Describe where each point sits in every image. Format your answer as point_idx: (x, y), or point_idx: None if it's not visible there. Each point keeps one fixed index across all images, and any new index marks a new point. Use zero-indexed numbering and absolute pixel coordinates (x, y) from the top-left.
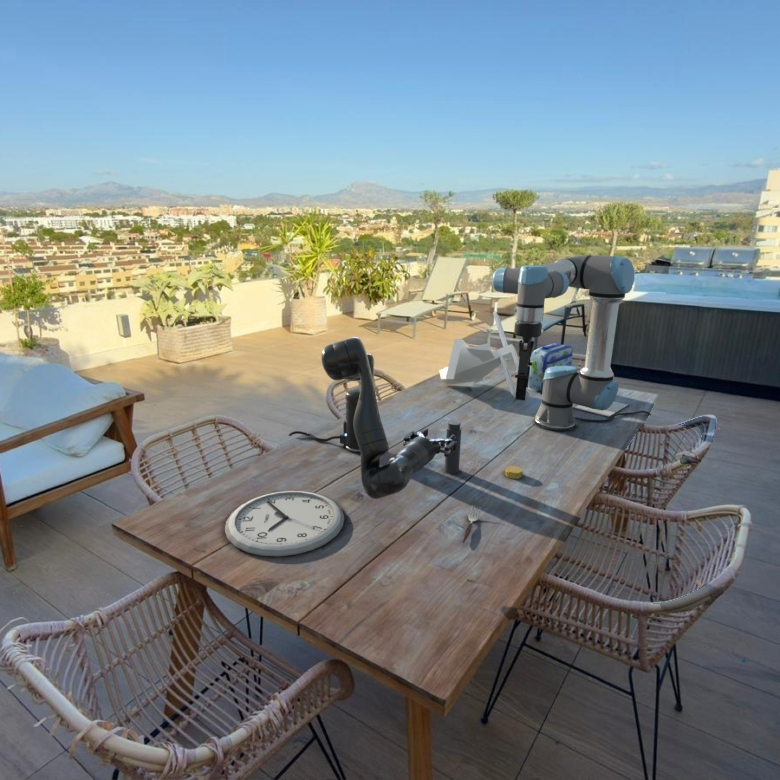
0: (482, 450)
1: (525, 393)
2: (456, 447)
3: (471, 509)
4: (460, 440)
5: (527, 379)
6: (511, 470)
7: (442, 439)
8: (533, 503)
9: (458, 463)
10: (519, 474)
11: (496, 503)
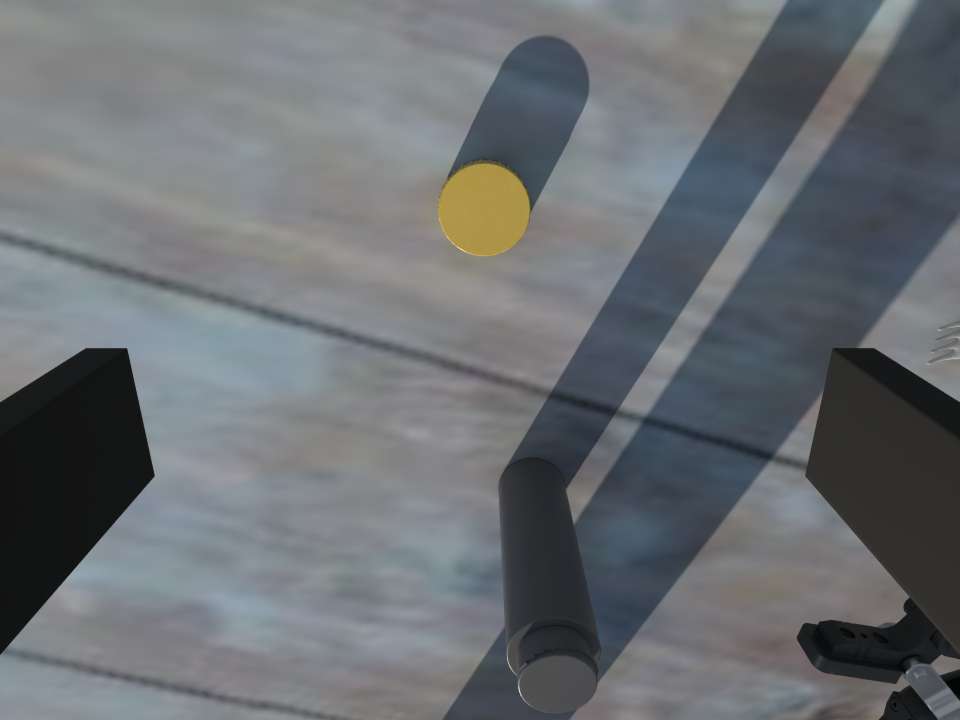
0: (236, 391)
1: (955, 401)
2: None
3: (940, 359)
4: (552, 564)
5: (46, 425)
6: (503, 223)
7: (957, 712)
8: (782, 77)
9: (548, 485)
10: (516, 175)
11: (810, 259)
